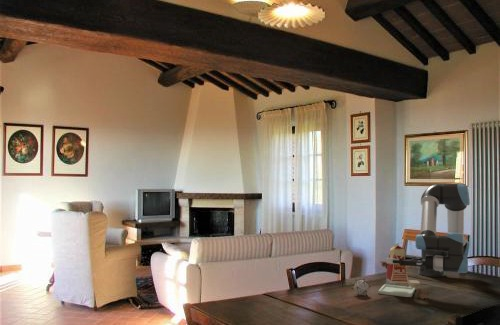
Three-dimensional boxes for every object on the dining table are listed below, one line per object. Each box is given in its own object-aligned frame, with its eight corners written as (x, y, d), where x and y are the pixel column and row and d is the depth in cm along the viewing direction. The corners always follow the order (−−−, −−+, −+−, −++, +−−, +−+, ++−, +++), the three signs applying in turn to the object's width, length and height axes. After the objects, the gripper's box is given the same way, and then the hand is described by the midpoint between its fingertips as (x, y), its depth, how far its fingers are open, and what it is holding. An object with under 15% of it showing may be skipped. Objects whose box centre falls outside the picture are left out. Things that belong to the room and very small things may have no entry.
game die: (364, 303, 226) (371, 290, 221) (348, 296, 228) (354, 283, 222) (367, 291, 234) (374, 278, 228) (351, 284, 235) (357, 271, 230)
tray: (384, 287, 246) (384, 284, 246) (415, 290, 239) (415, 287, 239) (378, 293, 232) (378, 290, 232) (411, 297, 225) (411, 294, 225)
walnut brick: (416, 296, 227) (416, 288, 227) (423, 296, 228) (423, 288, 228) (421, 298, 223) (421, 290, 223) (428, 298, 224) (428, 290, 224)
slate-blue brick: (389, 284, 253) (389, 277, 253) (396, 285, 251) (396, 278, 251) (386, 286, 248) (386, 279, 248) (393, 287, 246) (393, 280, 246)
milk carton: (408, 283, 231) (408, 243, 232) (390, 283, 231) (390, 243, 232) (403, 279, 240) (403, 241, 241) (385, 279, 240) (385, 241, 241)
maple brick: (408, 287, 246) (408, 280, 246) (417, 288, 245) (417, 280, 245) (410, 289, 241) (410, 282, 241) (420, 290, 240) (420, 282, 240)
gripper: (432, 274, 218) (384, 269, 228) (435, 266, 237) (391, 263, 247) (432, 258, 218) (384, 254, 228) (435, 252, 238) (391, 249, 248)
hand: (388, 259), depth 238 cm, fingers closed on milk carton, 9 cm apart
